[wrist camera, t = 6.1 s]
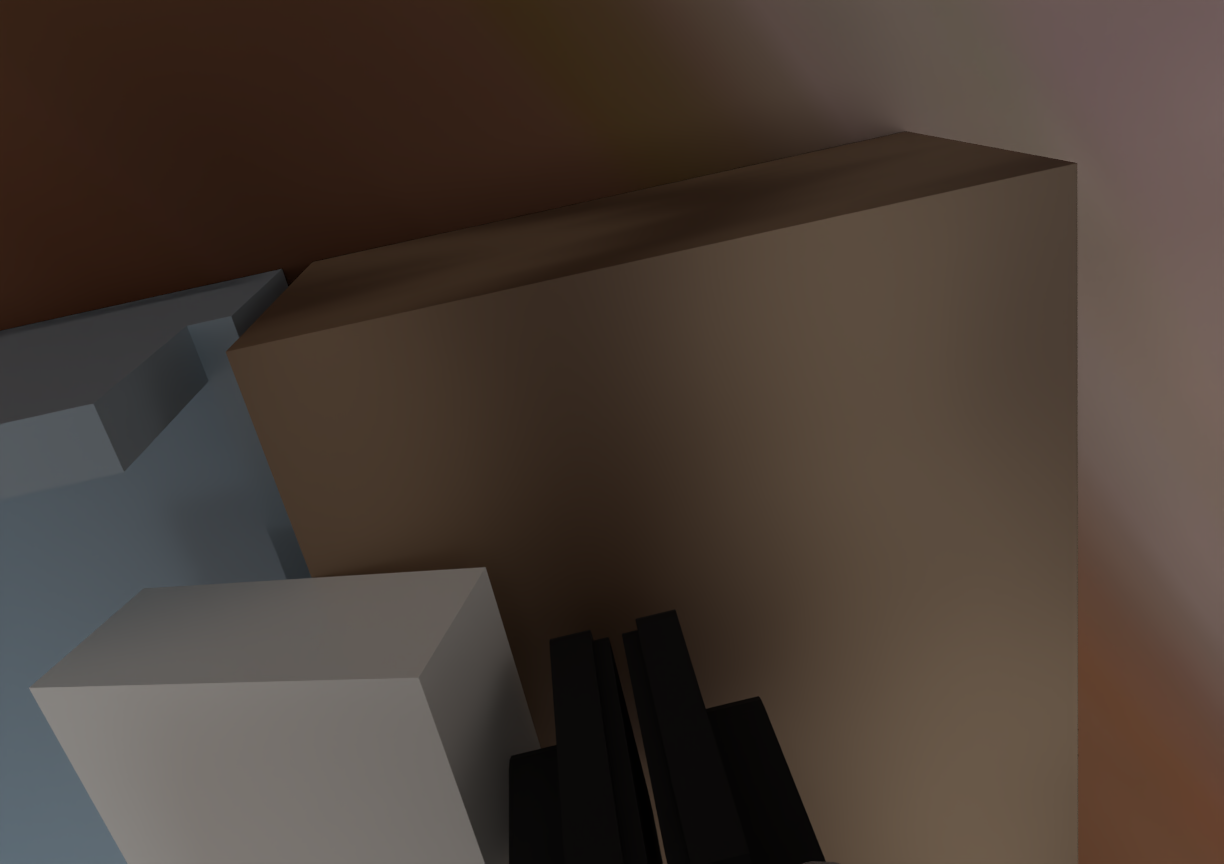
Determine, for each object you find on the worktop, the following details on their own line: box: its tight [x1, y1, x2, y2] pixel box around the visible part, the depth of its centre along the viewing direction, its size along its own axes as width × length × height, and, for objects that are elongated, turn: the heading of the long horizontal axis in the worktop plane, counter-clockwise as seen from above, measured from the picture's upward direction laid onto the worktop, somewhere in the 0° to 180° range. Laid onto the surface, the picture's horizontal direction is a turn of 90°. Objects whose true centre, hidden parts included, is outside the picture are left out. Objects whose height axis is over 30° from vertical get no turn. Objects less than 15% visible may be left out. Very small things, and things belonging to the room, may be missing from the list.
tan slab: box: [226, 131, 1078, 864], centre depth 17 cm, size 10×20×5 cm, turn 11°
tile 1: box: [29, 567, 541, 864], centre depth 12 cm, size 5×5×2 cm
